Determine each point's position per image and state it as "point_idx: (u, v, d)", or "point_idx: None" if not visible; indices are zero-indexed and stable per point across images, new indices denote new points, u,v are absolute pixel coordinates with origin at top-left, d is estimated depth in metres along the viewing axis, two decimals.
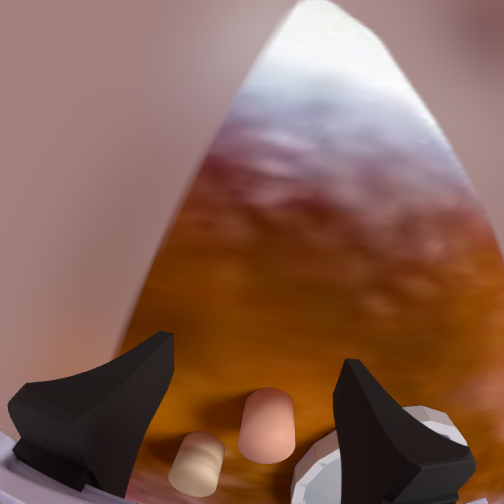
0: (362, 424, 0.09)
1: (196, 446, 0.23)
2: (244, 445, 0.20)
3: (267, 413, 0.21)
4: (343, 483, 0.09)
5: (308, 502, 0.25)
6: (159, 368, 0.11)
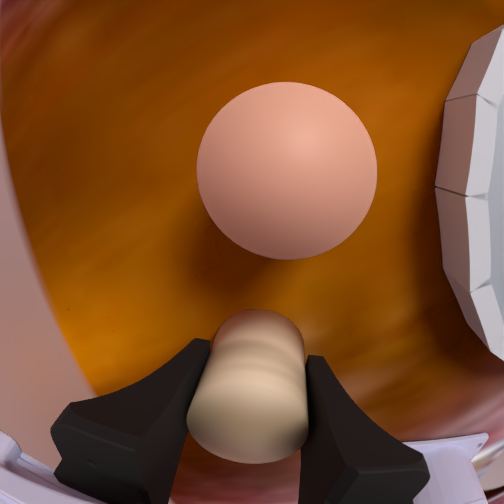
0: (317, 422, 0.09)
1: (219, 345, 0.12)
2: (235, 218, 0.07)
3: None
4: (301, 483, 0.09)
5: None
6: (198, 377, 0.11)
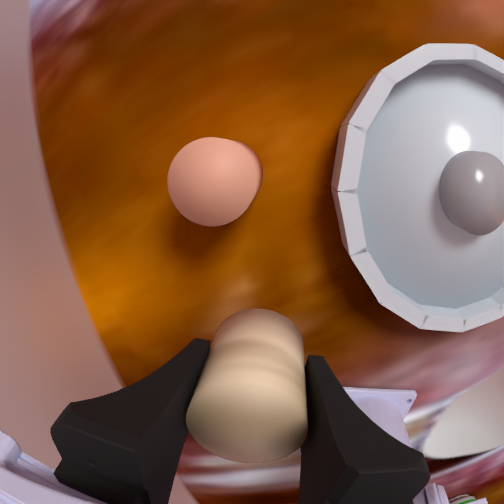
0: (317, 422, 0.09)
1: (218, 345, 0.12)
2: (186, 205, 0.14)
3: None
4: (301, 483, 0.09)
5: (410, 292, 0.19)
6: (198, 377, 0.11)
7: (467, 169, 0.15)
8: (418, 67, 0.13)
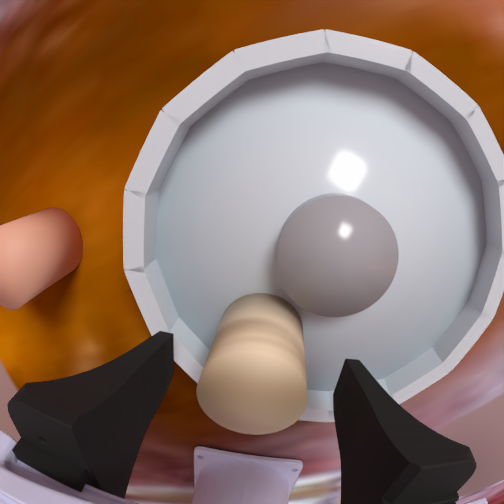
0: (362, 424, 0.09)
1: (226, 323, 0.13)
2: None
3: None
4: (343, 483, 0.09)
5: None
6: (159, 368, 0.11)
7: (306, 229, 0.12)
8: (217, 89, 0.11)
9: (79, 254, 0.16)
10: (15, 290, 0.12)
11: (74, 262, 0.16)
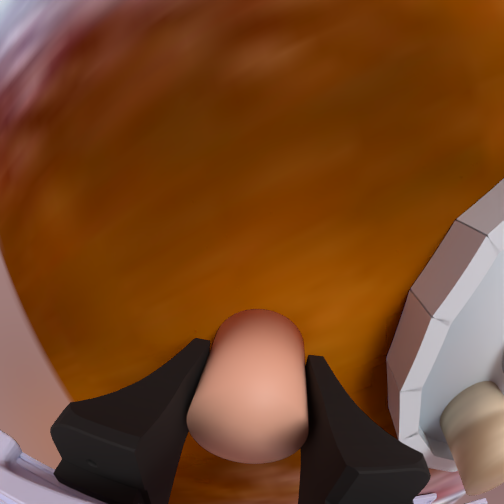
0: (317, 422, 0.09)
1: (477, 418, 0.11)
2: (214, 446, 0.10)
3: (211, 369, 0.10)
4: (301, 483, 0.09)
5: None
6: (198, 376, 0.11)
7: None
8: None
9: None
10: (275, 448, 0.09)
11: None
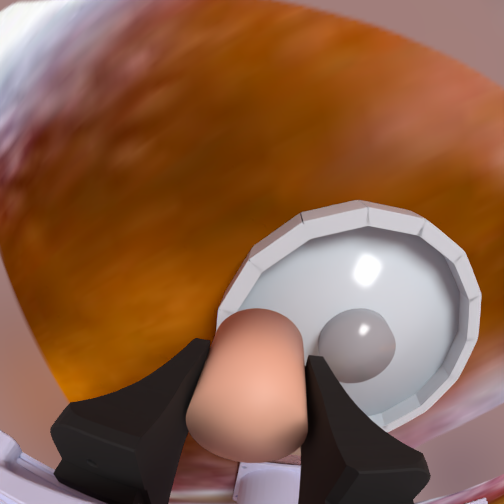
0: (317, 422, 0.09)
1: None
2: (213, 445, 0.10)
3: (210, 368, 0.10)
4: (301, 482, 0.09)
5: None
6: (198, 377, 0.11)
7: (340, 337, 0.19)
8: (290, 250, 0.17)
9: None
10: (274, 447, 0.09)
11: None
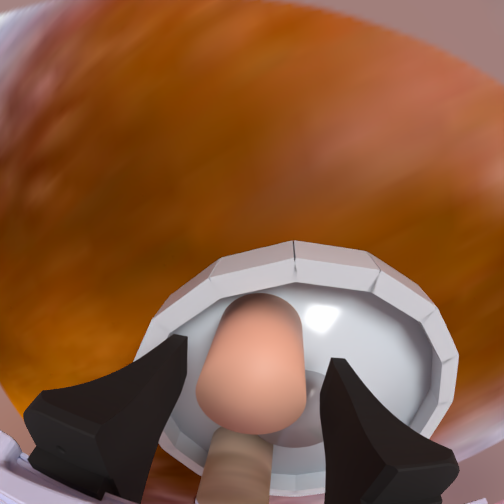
0: (345, 424, 0.09)
1: (215, 451, 0.16)
2: (220, 417, 0.11)
3: (218, 344, 0.12)
4: (327, 484, 0.09)
5: None
6: (174, 371, 0.11)
7: None
8: (198, 311, 0.14)
9: None
10: (276, 418, 0.11)
11: None
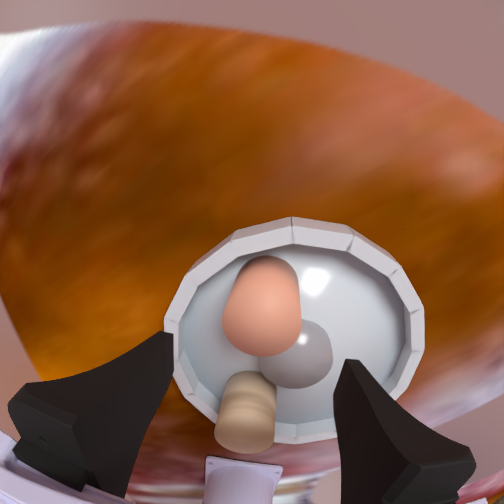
0: (362, 424, 0.09)
1: (230, 392, 0.21)
2: (239, 341, 0.16)
3: (238, 285, 0.17)
4: (343, 484, 0.09)
5: None
6: (159, 368, 0.11)
7: None
8: (221, 267, 0.19)
9: None
10: (280, 340, 0.16)
11: None
